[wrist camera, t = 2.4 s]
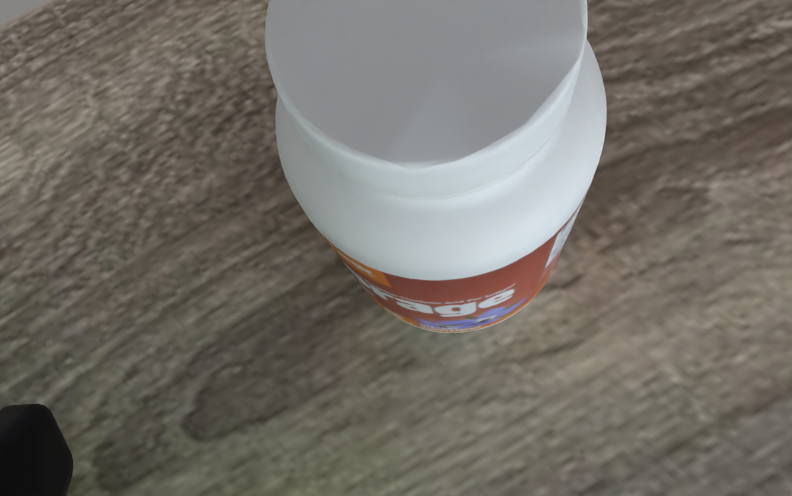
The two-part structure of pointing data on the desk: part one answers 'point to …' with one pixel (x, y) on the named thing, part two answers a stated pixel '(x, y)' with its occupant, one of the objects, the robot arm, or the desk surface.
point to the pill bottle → (439, 144)
